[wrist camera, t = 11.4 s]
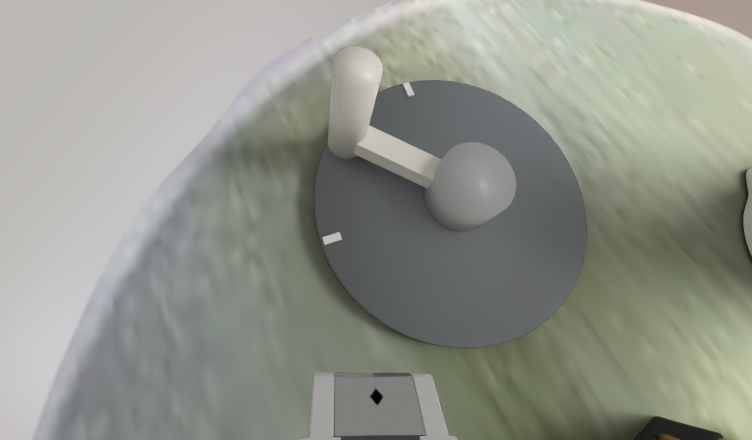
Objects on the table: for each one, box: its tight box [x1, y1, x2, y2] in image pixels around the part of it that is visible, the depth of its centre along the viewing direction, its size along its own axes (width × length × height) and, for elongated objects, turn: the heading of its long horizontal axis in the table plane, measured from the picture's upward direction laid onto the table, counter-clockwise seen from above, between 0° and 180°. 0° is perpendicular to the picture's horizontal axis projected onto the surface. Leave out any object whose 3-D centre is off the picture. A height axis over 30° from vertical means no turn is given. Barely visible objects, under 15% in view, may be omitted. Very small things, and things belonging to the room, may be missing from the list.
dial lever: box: [328, 46, 516, 232], centre depth 26 cm, size 15×6×9 cm, turn 67°
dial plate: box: [315, 80, 586, 348], centre depth 31 cm, size 24×24×2 cm
